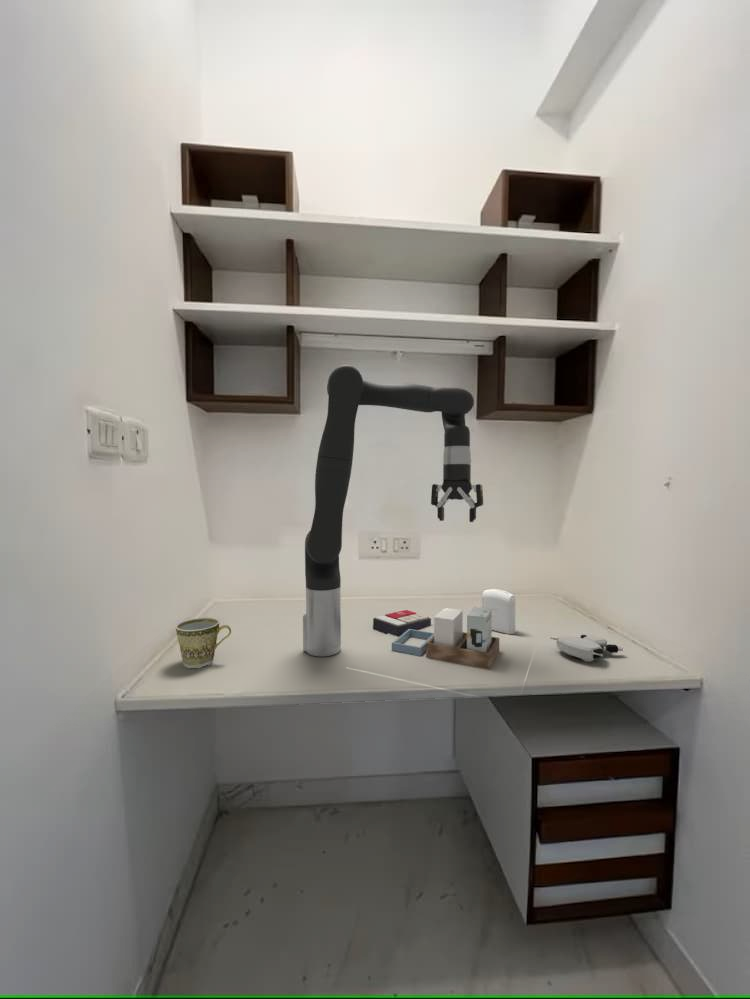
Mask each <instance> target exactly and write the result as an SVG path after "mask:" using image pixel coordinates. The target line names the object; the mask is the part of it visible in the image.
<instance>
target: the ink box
mask: <svg viewBox="0 0 750 999" xmlns="http://www.w3.org/2000/svg"><path fill="white" fill-rule="evenodd" d="M492 631H493V630H492V609H491V608H482V606H481V607H478V606H473V608H472V609H470V611H469V612H468V614H467V616H466V633H467V650H473V651H479V652H485V653H488V652H489V650H490V649H491V647H492V637H493V636H492V634H493V632H492Z"/></svg>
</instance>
